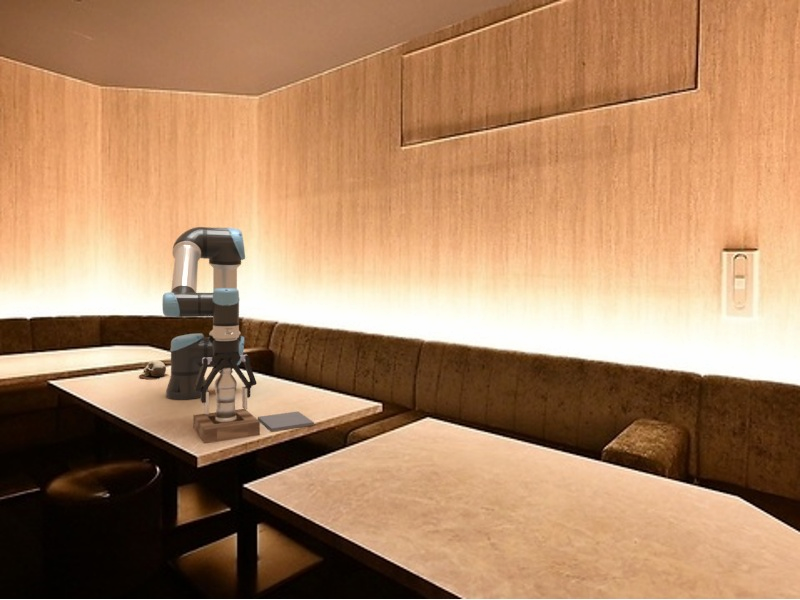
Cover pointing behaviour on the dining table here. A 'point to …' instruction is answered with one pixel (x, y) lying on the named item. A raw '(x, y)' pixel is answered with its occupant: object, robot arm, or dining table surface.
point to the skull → (154, 370)
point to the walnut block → (225, 426)
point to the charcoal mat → (285, 421)
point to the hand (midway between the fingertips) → (226, 410)
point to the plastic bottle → (225, 396)
